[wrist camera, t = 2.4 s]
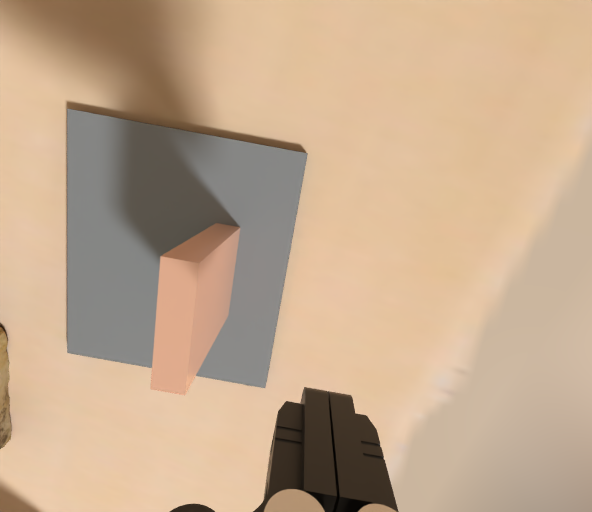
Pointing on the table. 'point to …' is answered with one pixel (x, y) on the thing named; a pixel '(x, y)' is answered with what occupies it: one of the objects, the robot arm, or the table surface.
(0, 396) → the rock
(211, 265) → the tile
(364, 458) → the robot arm
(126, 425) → the table surface
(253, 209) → the mat
